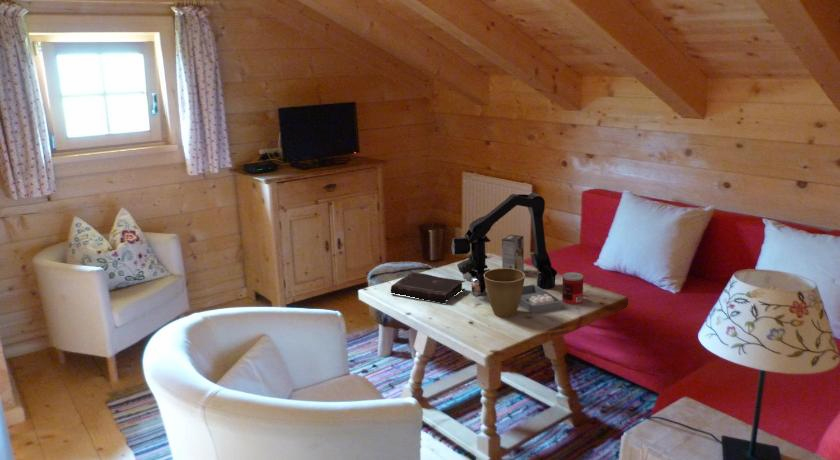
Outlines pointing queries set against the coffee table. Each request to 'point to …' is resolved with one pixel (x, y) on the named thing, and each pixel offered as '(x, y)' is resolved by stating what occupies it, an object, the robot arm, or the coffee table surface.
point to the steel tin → (477, 288)
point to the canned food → (572, 288)
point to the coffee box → (513, 252)
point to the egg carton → (540, 299)
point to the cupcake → (467, 275)
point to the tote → (535, 291)
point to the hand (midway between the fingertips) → (478, 289)
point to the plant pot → (504, 290)
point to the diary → (427, 287)
